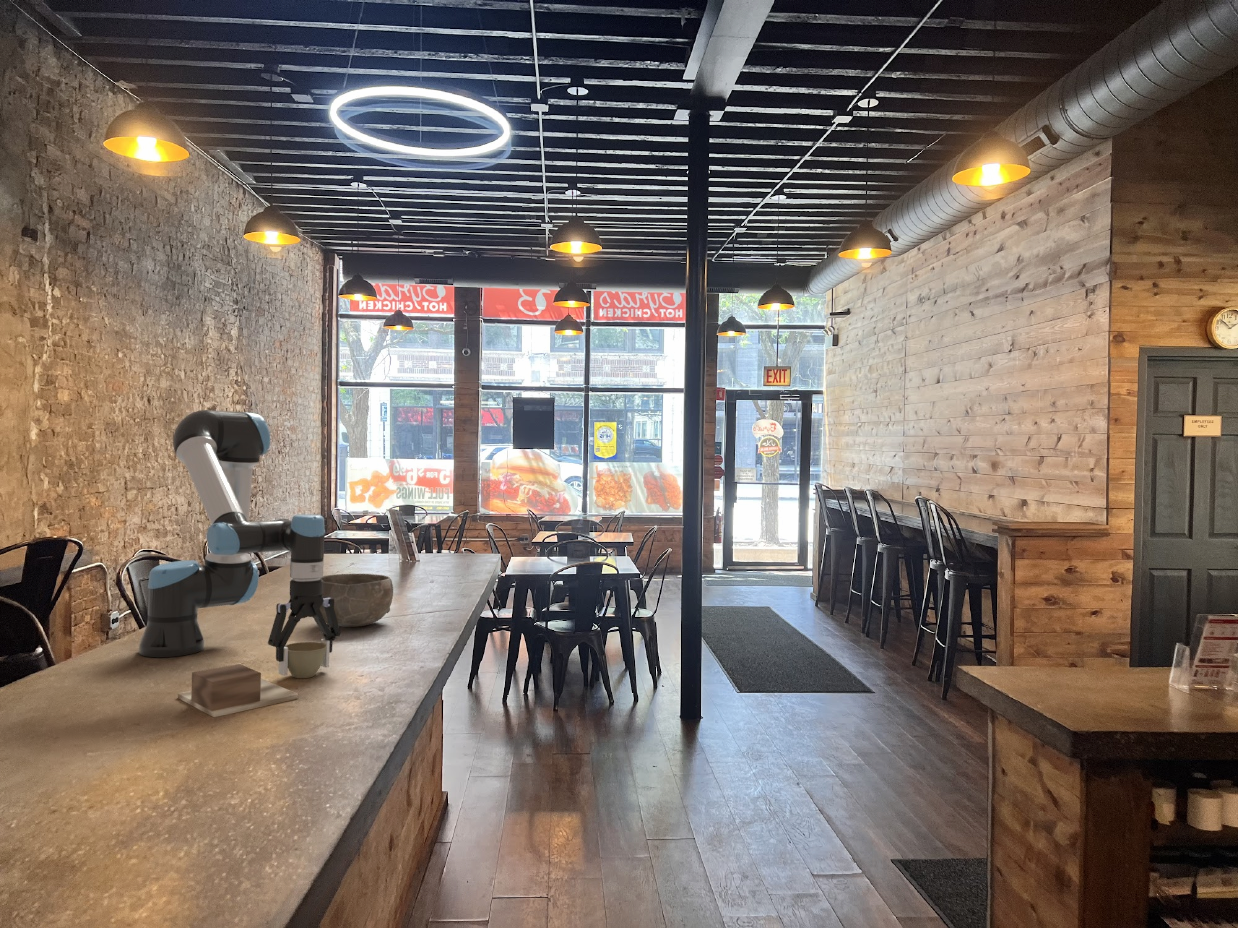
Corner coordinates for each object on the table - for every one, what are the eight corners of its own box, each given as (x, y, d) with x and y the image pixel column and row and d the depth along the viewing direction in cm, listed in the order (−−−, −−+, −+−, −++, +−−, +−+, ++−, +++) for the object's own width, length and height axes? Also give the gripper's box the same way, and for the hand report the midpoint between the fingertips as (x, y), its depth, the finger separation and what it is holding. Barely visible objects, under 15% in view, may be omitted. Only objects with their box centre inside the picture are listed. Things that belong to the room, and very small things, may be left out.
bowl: (409, 624, 255) (410, 577, 255) (346, 637, 234) (347, 586, 234) (358, 614, 268) (359, 569, 267) (294, 626, 247) (295, 577, 247)
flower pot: (310, 682, 189) (311, 652, 189) (272, 679, 191) (273, 649, 191) (334, 671, 198) (334, 643, 198) (297, 668, 200) (298, 639, 200)
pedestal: (191, 700, 170) (192, 672, 170) (238, 690, 178) (239, 663, 177) (211, 711, 163) (212, 681, 163) (260, 700, 171) (260, 672, 171)
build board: (177, 697, 174) (177, 693, 174) (259, 681, 188) (259, 677, 188) (213, 717, 163) (213, 712, 163) (298, 698, 177) (298, 693, 177)
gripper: (268, 585, 183) (266, 682, 183) (357, 576, 200) (354, 664, 201) (253, 581, 188) (250, 675, 188) (340, 572, 205) (338, 659, 206)
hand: (304, 670), depth 195 cm, fingers closed on flower pot, 10 cm apart
